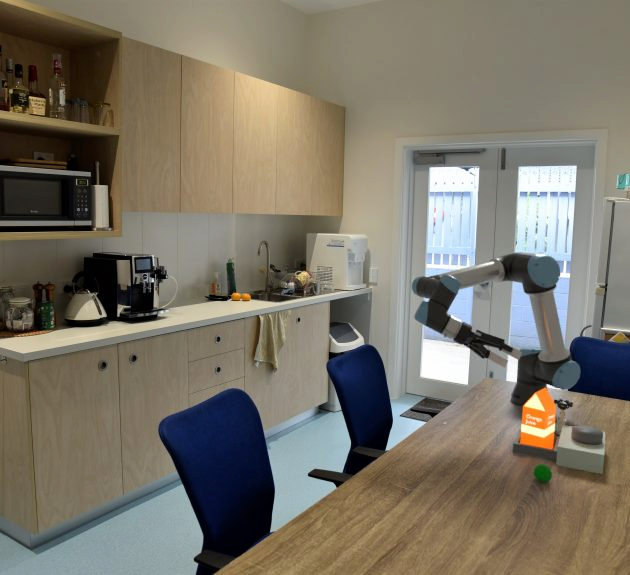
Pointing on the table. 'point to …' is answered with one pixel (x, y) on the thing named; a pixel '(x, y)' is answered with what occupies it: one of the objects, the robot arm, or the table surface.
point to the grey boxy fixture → (571, 448)
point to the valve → (561, 414)
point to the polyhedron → (542, 473)
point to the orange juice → (539, 420)
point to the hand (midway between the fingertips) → (513, 360)
